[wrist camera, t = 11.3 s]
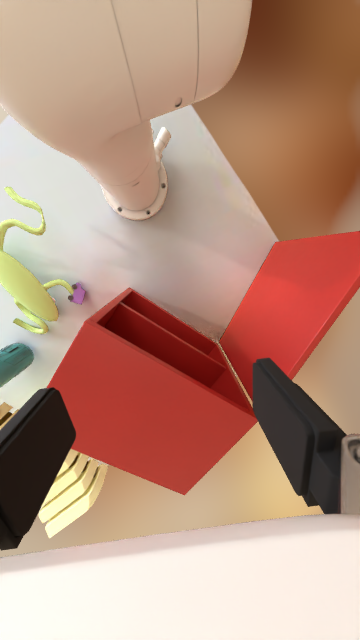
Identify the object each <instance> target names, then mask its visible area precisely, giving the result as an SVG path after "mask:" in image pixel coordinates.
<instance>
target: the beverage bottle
mask: <svg viewBox="0 0 360 640" xmlns="http://www.w3.org/2000/svg"><path fill="white" fill-rule="evenodd" d="M33 359H34V354H33V352H32V350H31V349H30V348H29V347H28V346H26V345H24V344H21V343H15V344H11V345H9V346H6V347H5V348H4V349H3V348H2V349H1V350H0V387H2V386H3V385H4V384H6V383H7V382H8V381H10V380H11V379H12V378H14V377H15V376H17V375H18V374H19V373H20V372H21V371H24V370H25V368H26V367H27V366H30V364H32V361H33Z"/></svg>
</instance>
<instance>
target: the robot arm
mask: <svg viewBox="0 0 360 640" xmlns="http://www.w3.org/2000/svg"><path fill="white" fill-rule="evenodd" d="M251 6H252V0H0V106H1V107H2V108H3V109H4V110H5V111H6V112H7V113H8V114H9V115H10V116H11V117H12V118H13V119H14V120H15V121H16V122H18V123H19V124H20V125H21V126H22V127H23V128H25V129H26V130H27V131H28V132H30V133H31V134H32V135H34V136H35V137H36V138H38V139H39V140H41V141H42V142H44V143H45V144H47V145H48V146H50V147H52V148H54V149H55V150H57V151H59V152H61V153H63V154H65V155H67V156H69V157H71V158H73V159H75V160H76V161H77V162H78V163H79V164H80V165H81V166H82V167H83V168H84V169H85V170H86V171H87V172H88V173H89V174H90V175H91V176H92V177H93V178H94V179H95V180H96V181H97V182H98V183H99V184H100V185H101V187H102V191H103V194H104V196H105V198H106V200H107V202H108V203H109V205H110V206H111V207H112V208H113V209H114V210H115V211H116V212H117V213H118V214H120V215H121V216H123V217H125V218H127V219H130V220H145V219H148V218H150V217H152V216H153V215H155V214H156V213H157V212H158V211H159V210H160V208H161V207H162V206H163V203H164V201H165V199H166V195H167V188H168V181H167V174H166V171H165V168H164V165H163V163H162V161H161V158H162V154H161V153H162V151H163V149H164V148H165V147H166V146H167V144H168V142H169V140H170V138H171V135H170V133H169V131H168V130H167V129H166V128H164V127H162V129H161V131H160V132H159V134H158V136H157V138H156V141H155V143H154V142H153V136H152V135H153V133H154V131H153V129H152V128H151V123H150V119H153V118H155V117H158V116H161V115H163V114H166V113H169V112H172V111H174V110H177V109H180V108H183V107H185V106H188V105H191V104H193V103H195V102H198V101H201V100H203V99H205V98H207V97H209V96H211V95H213V94H214V93H216V92H218V91H219V90H220V89H222V88H223V87H224V86H225V85H226V84H227V83H228V82H229V80H230V79H231V77H232V76H233V74H234V72H235V70H236V68H237V66H238V64H239V61H240V58H241V55H242V52H243V49H244V45H245V41H246V36H247V32H248V26H249V20H250V13H251ZM163 186H164V187H165V188H164V189H163V188H162V187H163ZM120 209H122V211H121V212H120ZM148 212H150V214H147V213H148ZM253 411H254V414H255V416H256V418H257V420H258V422H259V424H260V426H261V428H262V429H263V431H264V433H265V435H266V437H267V439H268V441H269V443H270V445H271V447H272V449H273V451H274V453H275V454H276V456H277V458H278V460H279V462H280V464H281V466H282V468H283V470H284V471H285V473H286V475H287V477H288V479H289V481H290V483H291V485H292V487H293V489H294V491H295V492H296V494H297V495H298V496H302V497H303V498H304V500H305V502H306V504H307V506H308V507H310V506H317V505H319V506H320V507H321V509H322V511H323V513H324V514H322V515H305V516H297V517H287V518H279V519H270V520H261V521H252V522H245V523H238V524H230V525H223V526H215V527H208V528H201V529H193V530H186V531H179V532H171V533H165V534H157V535H150V536H143V537H136V538H129V539H122V540H115V541H108V542H101V543H94V544H87V545H80V546H74V547H66V548H59V549H53V550H46V551H40V552H33V553H26V554H19V555H12V556H6V557H0V640H360V434H350V435H346V434H345V433H344V432H343V431H342V430H341V429H340V428H339V426H338V425H337V424H336V423H335V422H334V421H333V420H332V419H331V418H330V417H329V416H328V415H327V414H326V413H325V412H324V411H323V410H322V409H321V408H320V407H319V406H318V405H317V404H316V403H315V402H314V401H313V400H312V399H311V398H310V397H309V396H308V395H307V394H306V393H305V392H304V391H303V390H302V388H301V387H300V386H298V385H297V384H295V383H293V382H292V380H291V379H290V378H289V377H288V376H287V375H286V374H285V373H284V372H283V371H282V370H281V369H280V368H279V367H278V366H277V365H276V364H275V363H274V362H273V361H272V360H271V359H270V358H262V359H257V360H256V362H255V363H253ZM75 439H76V430H75V428H74V426H73V423H72V421H71V418H70V416H69V413H68V411H67V408H66V406H65V403H64V401H63V398H62V396H61V394H60V391H59V390H56V389H55V388H54V387H51V388H44V389H39V390H38V391H37V392H36V393H35V394H34V395H33V396H32V397H31V398H30V399H29V400H28V401H27V402H26V403H25V404H24V406H23V407H22V408H21V409H20V410H19V411H18V412H17V413H16V414H15V415H14V416H13V417H12V418H11V419H10V420H9V421H8V422H7V423H6V424H5V425H4V426H3V427H2V428H1V430H0V549H1V550H8V549H15V548H17V547H18V545H19V543H20V542H21V540H22V538H23V536H24V535H25V534H26V533H27V532H28V531H29V530H30V528H31V526H32V524H33V522H34V520H35V518H36V516H37V514H38V512H39V510H40V508H41V506H42V504H43V502H44V500H45V498H46V496H47V494H48V492H49V490H50V488H51V487H52V485H53V483H54V481H55V479H56V477H57V475H58V473H59V471H60V469H61V467H62V465H63V463H64V461H65V459H66V457H67V455H68V453H69V451H70V449H71V447H72V445H73V443H74V441H75Z"/></svg>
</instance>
